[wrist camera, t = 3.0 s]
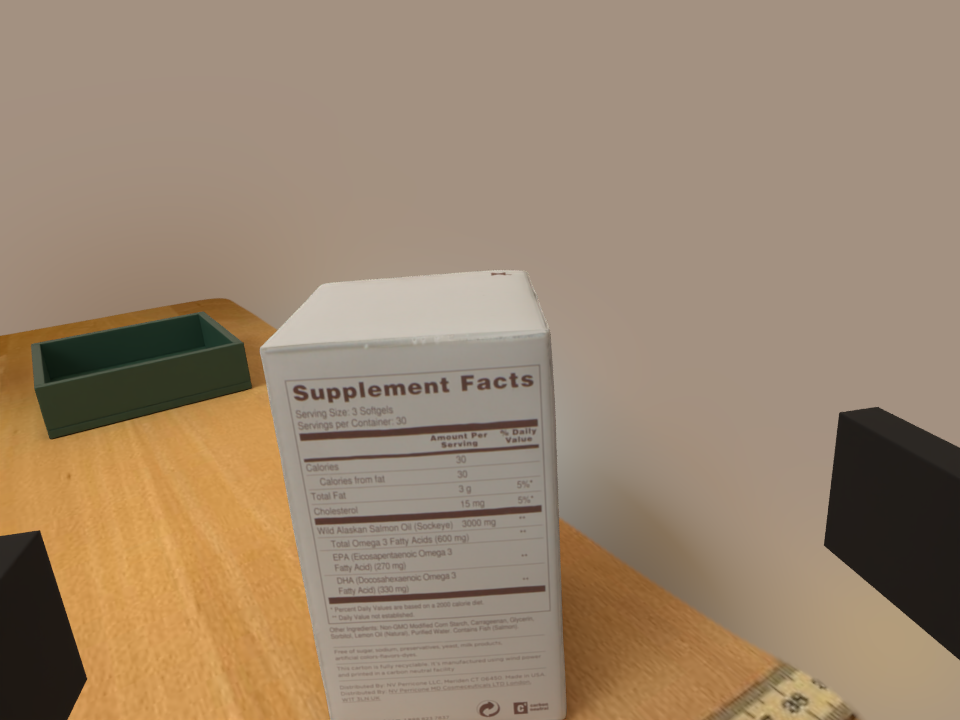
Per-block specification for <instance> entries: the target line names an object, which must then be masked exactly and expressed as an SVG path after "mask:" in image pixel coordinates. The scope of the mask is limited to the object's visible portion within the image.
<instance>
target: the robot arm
mask: <svg viewBox="0 0 960 720" xmlns="http://www.w3.org/2000/svg"><path fill="white" fill-rule="evenodd" d="M824 546H825V547H826V548H828V549H829V550H830V551H831V552H832V553H833V554H835V555H836V556H837V557H838V558H839V559H841V560H842V561H843V562H844V563H845V564H846V565H848V566H849V567H850V568H851V569H853V570H854V571H855V572H856V573H857V574H858V575H860V576H861V577H862V578H863V579H864V580H866V581H867V582H868V583H869V584H870V585H871V586H873V587H874V588H875V589H876V590H877V591H879V592H880V593H881V594H882V595H883V596H884V597H886V598H887V599H888V600H889V601H890V602H892V603H893V604H894V605H895V606H896V607H898V608H899V609H900V610H901V611H902V612H903V613H905V614H906V615H907V616H908V617H909V618H910V619H912V620H913V621H914V622H915V623H916V624H918V625H919V626H920V627H921V628H922V629H924V630H925V631H926V632H927V633H928V634H930V635H931V636H932V637H933V638H934V639H935V640H937V641H938V642H939V643H940V644H941V645H942V646H944V647H945V648H946V649H947V650H948V651H950V652H951V653H952V654H953V655H954V656H956V657H957V658H958V659H959V660H960V448H959V447H957V446H955V445H953V444H951V443H949V442H947V441H945V440H943V439H941V438H939V437H937V436H935V435H933V434H931V433H929V432H927V431H925V430H923V429H921V428H919V427H916V426H915V425H913V424H911V423H909V422H907V421H905V420H903V419H901V418H899V417H897V416H895V415H893V414H891V413H889V412H887V411H884V410H883V409H880V408H879V407H874V408H868V409H860V410H854V411H847V412H840V413H839V420H838V428H837V437H836V446H835V456H834V464H833V472H832V480H831V489H830V498H829V506H828V515H827V524H826V532H825V541H824ZM86 680H87V677H86V674H85V671H84V667H83V664H82V661H81V658H80V655H79V652H78V649H77V645H76V642H75V639H74V636H73V633H72V630H71V627H70V623H69V620H68V617H67V614H66V611H65V608H64V605H63V601H62V598H61V595H60V592H59V589H58V586H57V583H56V579H55V576H54V573H53V570H52V567H51V564H50V561H49V557H48V554H47V551H46V548H45V545H44V542H43V539H42V536H41V532H40V530H39V531H32V532H26V533H19V534H12V535H5V536H0V720H67V719H68V717H69V715H70V713H71V711H72V709H73V707H74V705H75V703H76V701H77V699H78V697H79V695H80V693H81V691H82V689H83V686H84V684H85V682H86Z"/></svg>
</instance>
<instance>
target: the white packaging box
mask: <svg viewBox="0 0 960 720" xmlns="http://www.w3.org/2000/svg"><path fill="white" fill-rule="evenodd" d="M550 335H551V334H550V330H549V327H548V324H547V321H546V319H545V317H544V314H543V312H542V309H541V307H540V304H539V301H538V297H537V294H536V293H535V291H534V288H533V286H532V284H531V281H530V278H529V274H528V273H527V272H526V271H521V270H491V271H477V272H463V273H450V274H439V275H438V274H437V275H426V276H412V277H400V278H386V279H373V280H357V281H346V282H335V283H328V284H322V285H320V286H319V287H318V288H317V289H316V291H315V292H314V293H313V294H312V295H311V296H310V297H309V298H308V300H307V301H306V302H305V303H304V304H303V305H302V306H301V307H300V308H299V309H298V310H297V311H296V312H295V313H294V314H293V315H292V316H291V317H290V318H289V319H288V320H287V321H286V322H285V323H284V324H283V325H282V326H281V327H280V329H278V330H277V331H276V332H275V333H274V334H273V335H272V336H271V337H270V338H269V339H268V340H267V341H266V342H265V343H264V344H263V345H262V346H261V347H260V355H261V359H262V364H263V369H264V374H265V379H266V384H267V389H268V395H269V401H270V407H271V411H272V416H273V421H274V427H275V432H276V437H277V442H278V447H279V452H280V457H281V463H282V469H283V475H284V480H285V486H286V491H287V497H288V502H289V508H290V513H291V519H292V524H293V530H294V535H295V540H296V545H297V550H298V555H299V560H300V566H301V571H302V577H303V582H304V587H305V592H306V597H307V603H308V608H309V613H310V617H311V622H312V628H313V634H314V639H315V644H316V649H317V654H318V659H319V664H320V669H321V675H322V679H323V684H324V688H325V693H326V698H327V704H328V710H329V715H330V720H563V719H564V718H565V717H566V710H567V707H566V684H565V663H564V646H563V625H562V594H561V566H560V538H559V509H558V481H557V450H556V419H555V398H554V381H553V364H552V350H551V336H550Z"/></svg>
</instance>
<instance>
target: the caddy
mask: <svg viewBox="0 0 960 720" xmlns="http://www.w3.org/2000/svg"><path fill="white" fill-rule="evenodd" d="M31 349H32V362H33V375H34V389H35V392H36V396H37V399H38V402H39V405H40V409H41V412H42V415H43V419H44V422H45V425H46V428H47V431H48V435H49V438H50V439H53V438H57V437H60V436H64V435H68V434H72V433H76V432H80V431H84V430H88V429H92V428H96V427H100V426H104V425H108V424H112V423H116V422H120V421H124V420H127V419H131V418H135V417H139V416H143V415H147V414H151V413H155V412H159V411H163V410H167V409H171V408H175V407H179V406H183V405H187V404H191V403H195V402H198V401H202V400H206V399H210V398H214V397H218V396H222V395H226V394H230V393H234V392H238V391H242V390H246V389H250V388H252V385H251V381H250V380H251V379H250V374H249V369H248V364H247V358H246V353H245V348H244V343H243V342H242V341H240V340H239V339H238V338H236V337H235V336H234V335H233V334H231V333H230V332H229V331H228V330H226V329H225V328H224V327H222V326H221V325H220V324H219V323H217V322H216V321H215V320H214V319H212V318H211V317H210V316H208V315H207V314H206V313H205V312H199V313H193V314H188V315H183V316H177V317H172V318H167V319H162V320H156V321H151V322H146V323H140V324H135V325H130V326H124V327H119V328H114V329H109V330H103V331H98V332H93V333H87V334H82V335H77V336H72V337H66V338H61V339H56V340H50V341H45V342H40V343H35V344H31Z"/></svg>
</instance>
